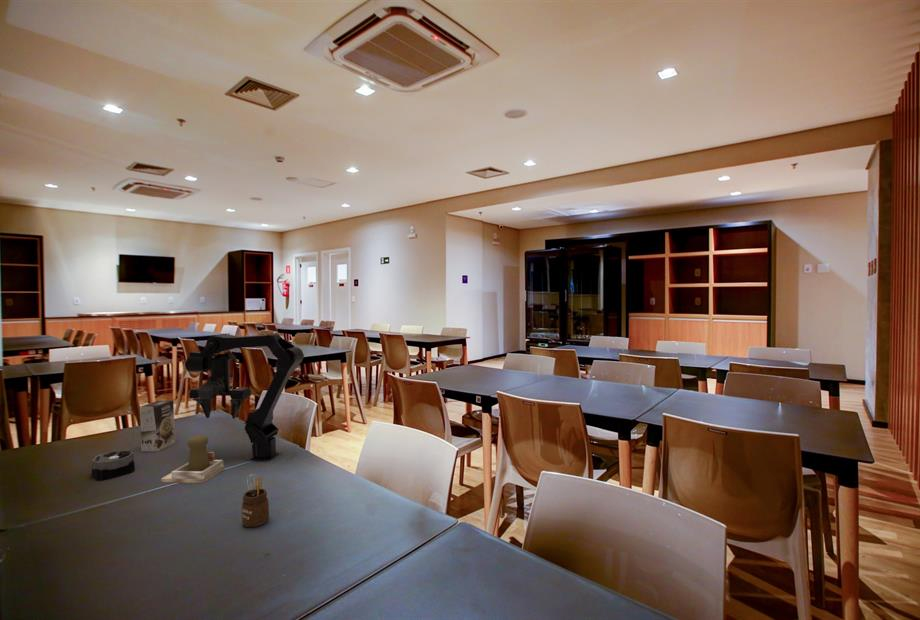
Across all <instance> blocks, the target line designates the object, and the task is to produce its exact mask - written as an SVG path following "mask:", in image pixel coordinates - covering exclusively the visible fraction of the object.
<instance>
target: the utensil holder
mask: <svg viewBox="0 0 920 620" xmlns="http://www.w3.org/2000/svg"><path fill="white" fill-rule="evenodd" d="M254 475H255V476H254ZM251 476H253V479H254V484H253V485H254V489H253V488H252V489H250V487H253V486H252V484H250V486H249V485H247V488H248V489H249V490H248V491H246V492H244V493H243V496H242V503H241V523H242V525H243V526H244V527H247V528H255V527H259V526H261V525H264V524H265V523H266V522H268V520H269V518H270V511H269V510H270V507H269V506H270V504H269V498H268V497H267V495H268V494H267V490H266V489H265V488H262V487H263V475H261V476H258V477H257V474H255V473H251V474H249V475H247V479H246V480H247V482H246V483H247V484H249V480H248V479H249V478H250V477H251Z"/></svg>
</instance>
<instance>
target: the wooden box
mask: <svg viewBox="0 0 920 620" xmlns="http://www.w3.org/2000/svg"><path fill="white" fill-rule="evenodd" d="M207 454H208V459H209V465H210V467H208V468H207V469H205V470H203V471H202V472H201V471H188V464H189V462H186V463H185V464H183V465H182V466H180V467H178V468H176V469H174V470H172V471H171V473H169V474H167V475H165V476H163V477H162V478H160V481H161V483H180V484H181V483H184V484H185V483H187V484H188V483H189V484H204V483H205V482H207V481H209V480H210V479H211V478H213V477H215V476H216V475H217V474H219V473H221V472H222V471H224V470H225V466H224V459H215V451H207Z"/></svg>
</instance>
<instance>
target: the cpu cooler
mask: <svg viewBox="0 0 920 620" xmlns="http://www.w3.org/2000/svg"><path fill="white" fill-rule="evenodd" d="M135 471H136V467H135V452H134V451H131V450H125V449H124V450H123V449H122V450H116V451H109V452H106V453H100V454H97V455H96V456H93V459H91V475H92V476H93V478H94V479H95V480H96V481H98V482H99V481H103V482H104V481H105V480H106V481H107V480H109V479H113V478H114V479H115V478H116V477H119V476H124V475H128V474H131V473H133V472H135Z"/></svg>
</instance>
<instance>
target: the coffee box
mask: <svg viewBox="0 0 920 620" xmlns="http://www.w3.org/2000/svg"><path fill="white" fill-rule="evenodd" d="M174 404H175V402H174V400H169V399H167V400H156V401H153V402H150V403H147V404H144V405H141V406H139V413H140V419H139V420H140V421H139V422H140V443H141V444H140V448H141V450H140V451H141V452H160V451H162V450H164V449H166V448H169V446H172V445H174V444H175V443H176V440H175V439H176V438H175V433H176V432H175V429H176V428H175V409H174V406H175V405H174Z"/></svg>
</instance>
